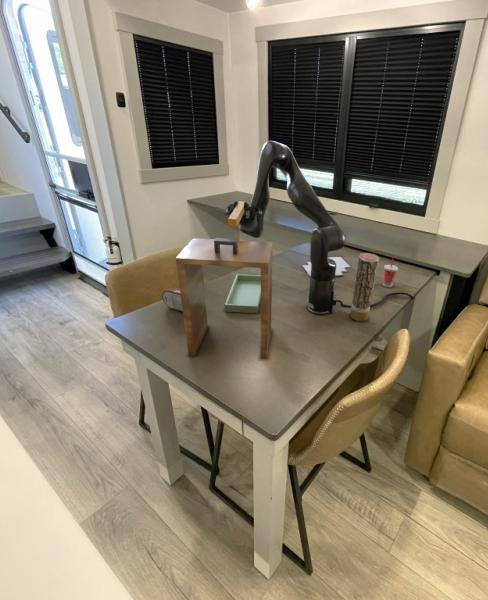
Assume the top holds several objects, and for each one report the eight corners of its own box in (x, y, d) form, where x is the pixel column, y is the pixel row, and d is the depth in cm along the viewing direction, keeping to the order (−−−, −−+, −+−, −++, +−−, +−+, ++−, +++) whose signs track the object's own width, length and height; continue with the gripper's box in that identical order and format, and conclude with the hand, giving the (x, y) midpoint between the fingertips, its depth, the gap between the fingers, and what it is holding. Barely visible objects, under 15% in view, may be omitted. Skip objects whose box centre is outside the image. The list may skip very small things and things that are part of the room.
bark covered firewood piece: (367, 323, 123) (379, 261, 111) (349, 320, 124) (358, 258, 112) (368, 314, 129) (379, 254, 117) (350, 311, 130) (360, 252, 118)
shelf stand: (271, 329, 116) (272, 231, 99) (267, 358, 102) (268, 250, 85) (202, 326, 115) (191, 226, 97) (188, 355, 101) (173, 244, 84)
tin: (201, 312, 123) (199, 292, 118) (196, 316, 120) (194, 296, 116) (168, 303, 126) (164, 284, 122) (162, 307, 124) (159, 287, 120)
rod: (246, 208, 116) (246, 201, 115) (236, 227, 97) (236, 219, 96) (239, 208, 116) (239, 201, 115) (228, 226, 97) (228, 218, 96)
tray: (236, 280, 148) (236, 274, 146) (264, 281, 148) (264, 275, 147) (225, 311, 124) (224, 304, 123) (257, 313, 125) (257, 306, 123)
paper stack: (296, 259, 173) (296, 258, 173) (340, 256, 181) (340, 255, 180) (310, 278, 154) (310, 277, 154) (358, 274, 161) (359, 273, 161)
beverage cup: (393, 282, 156) (399, 255, 149) (394, 288, 150) (401, 260, 144) (380, 281, 156) (385, 253, 149) (381, 287, 151) (387, 258, 144)
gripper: (228, 207, 127) (219, 192, 110) (265, 209, 128) (261, 194, 110) (228, 226, 127) (218, 214, 110) (264, 228, 128) (260, 216, 110)
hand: (240, 204), depth 110 cm, fingers closed on rod, 2 cm apart
